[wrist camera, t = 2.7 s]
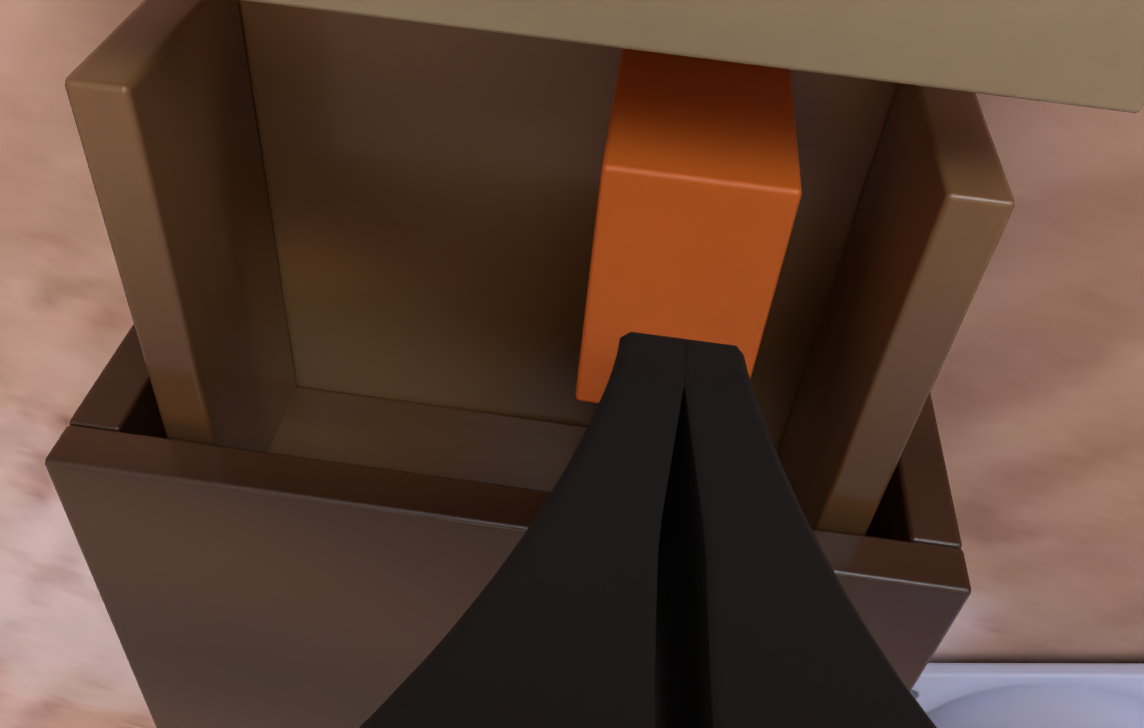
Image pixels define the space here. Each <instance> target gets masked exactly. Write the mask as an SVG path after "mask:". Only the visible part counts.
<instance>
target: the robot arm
mask: <svg viewBox="0 0 1144 728" xmlns="http://www.w3.org/2000/svg"><path fill="white" fill-rule="evenodd" d="M359 728H1144V663H928V664H927V665H926V667H925V669H924V670H923V672H922V674H921V675H920V677H919V678H918V680H917V682H916V683H915V685H914V687H913V688H912V690H911V692H910V691H909V690H908V688H907V687H906V686H905V684H904V683H903V681H902V680H901V678H900V677H899V675H898V674H897V672H896V671H895V669H894V668H893V666H892V665H891V663H890V662H889V660H888V659H887V657H886V656H885V654H884V653H883V651H882V650H881V648H880V647H879V645H878V644H877V642H876V641H875V639H874V638H873V636H872V634H871V633H870V631H869V630H868V628H867V626H866V625H865V623H864V622H863V620H862V618H861V617H860V615H859V613H858V612H857V610H856V609H855V607H854V605H853V604H852V602H851V600H850V599H849V597H848V595H847V593H846V592H845V590H844V588H843V587H842V585H841V583H840V581H839V579H838V578H837V576H836V574H835V572H834V570H833V569H832V567H831V565H830V563H829V561H828V559H827V557H826V556H825V554H824V552H823V550H822V548H821V546H820V544H819V542H818V540H817V538H816V536H815V535H814V533H813V531H812V529H811V527H810V525H809V523H808V521H807V519H806V516H805V514H804V512H803V510H802V508H801V506H800V504H799V502H798V500H797V497H796V495H795V493H794V491H793V489H792V486H791V484H790V482H789V480H788V477H787V475H786V473H785V471H784V468H783V466H782V464H781V462H780V459H779V457H778V455H777V452H776V450H775V447H774V445H773V442H772V440H771V437H770V435H769V432H768V429H767V427H766V424H765V421H764V419H763V416H762V413H761V411H760V408H759V405H758V402H757V399H756V396H755V393H754V390H753V387H752V384H751V380H750V377H749V373H748V370H747V366H746V362H745V358H744V355H743V353H742V352H741V351H740V350H739V348H738V347H737V346H734V345H727V344H719V343H712V342H704V341H697V340H689V339H682V338H674V337H667V336H659V335H652V334H644V333H637V332H629V333H628V334H626V335H624V336H622V337H621V338H620V340H619V346H618V352H617V356H616V359H615V362H614V366H613V369H612V372H611V375H610V378H609V380H608V383H607V385H606V388H605V391H604V393H603V395H602V397H601V400H600V402H599V404H598V406H597V409H596V411H595V413H594V415H593V417H592V419H591V421H590V423H589V425H588V427H587V429H586V431H585V433H584V435H583V437H582V439H581V441H580V443H579V445H578V446H577V448H576V450H575V452H574V454H573V456H572V458H571V460H570V462H569V463H568V465H567V467H566V469H565V470H564V472H563V474H562V475H561V477H560V478H559V480H558V482H557V483H556V485H555V487H554V488H553V490H552V491H551V493H550V495H549V496H548V498H547V500H546V501H545V503H544V504H543V506H542V508H541V509H540V511H539V513H538V514H537V516H536V517H535V519H534V520H533V522H532V523H531V525H530V526H529V528H528V529H527V531H526V532H525V534H524V535H523V537H522V538H521V540H520V541H519V542H518V544H517V545H516V547H515V548H514V549H513V551H512V552H511V554H510V555H509V556H508V558H507V559H506V560H505V562H504V563H503V564H502V566H501V567H500V569H499V570H498V571H497V573H496V574H495V575H494V577H493V578H492V579H491V581H490V582H489V583H488V584H487V586H486V587H485V588H484V590H483V591H482V592H481V593H480V594H479V596H478V597H477V598H476V599H475V601H474V602H473V603H472V604H471V606H470V607H469V608H468V609H467V611H466V612H465V613H464V614H463V615H462V617H461V618H460V619H459V620H458V622H457V623H456V624H455V625H454V627H453V628H452V629H451V630H450V631H449V632H448V634H447V635H446V636H445V637H444V638H443V639H442V640H441V642H440V643H439V644H438V645H437V646H436V647H435V648H434V650H433V651H432V652H431V653H430V654H429V655H428V656H427V657H426V658H425V659H424V661H423V662H422V663H421V664H420V665H419V666H418V667H417V668H416V669H415V670H414V671H413V672H412V673H411V674H410V675H409V676H408V677H407V679H406V680H405V681H404V682H403V683H402V684H401V685H400V686H399V687H398V688H397V689H396V690H395V691H394V692H393V693H392V694H391V695H390V697H389V698H388V699H387V700H386V701H385V702H384V703H383V704H382V705H381V706H380V707H379V708H378V709H377V710H376V711H375V712H374V713H373V714H372V715H371V716H370V717H369V718H368V719H367V720H366V721H365V722H364V723H363V724H362V725H361V726H360V727H359Z"/></svg>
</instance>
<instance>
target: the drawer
mask: <svg viewBox="0 0 1144 728" xmlns="http://www.w3.org/2000/svg"><path fill="white" fill-rule="evenodd" d="M623 49H632V50H640V51H648V52H656V53H664V54H672V55H680V56H688V57H696V58H704V59H712V60H720V61H727V62H735V63H743V64H751V65H759V66H767V67H775V68H783V69H789V70H790V73H791V83H792V94H793V104H794V115H795V125H796V136H797V147H798V157H799V168H800V178H801V189H802V196H801V199H800V203H799V206H798V210H797V214H796V217H795V221H794V224H793V228H792V232H791V235H790V239H789V242H788V246H787V250H786V253H785V257H784V260H783V264H782V268H781V271H780V275H779V278H778V282H777V285H776V289H775V293H774V296H773V300H772V303H771V307H770V311H769V314H768V318H767V321H766V325H765V329H764V332H763V336H762V339H761V343H760V347H759V350H758V354H757V357H756V361H755V364H754V368H753V372H752V375H751V379H750V380H751V384H752V387H753V390H754V393H755V396H756V399H757V402H758V405H759V408H760V411H761V413H762V416H763V419H764V421H765V424H766V427H767V429H768V432H769V435H770V437H771V440H772V442H773V445H774V447H775V450H776V452H777V455H778V457H779V459H780V462H781V464H782V466H783V468H784V471H785V473H786V475H787V477H788V480H789V482H790V484H791V486H792V489H793V491H794V493H795V495H796V497H797V500H798V502H799V504H800V506H801V508H802V510H803V512H804V514H805V516H806V519H807V521H808V523H809V525H810V527H811V528H815V529H822V530H829V531H836V532H843V533H851V534H858V535H865V534H866V532H867V530H868V527H869V525H870V523H871V521H872V519H873V516H874V514H875V512H876V510H877V507H878V505H879V503H880V501H881V499H882V496H883V494H884V492H885V490H886V488H887V485H888V483H889V481H890V479H891V477H892V474H893V472H894V470H895V468H896V466H897V463H898V461H899V459H900V457H901V455H902V452H903V450H904V448H905V446H906V444H907V441H908V439H909V437H910V435H911V433H912V430H913V428H914V426H915V424H916V422H917V419H918V417H919V415H920V413H921V411H922V408H923V406H924V404H925V402H926V400H927V397H928V395H929V393H930V391H931V389H932V386H933V384H934V382H935V380H936V378H937V375H938V373H939V371H940V369H941V367H942V364H943V362H944V360H945V358H946V355H947V353H948V351H949V349H950V347H951V344H952V342H953V340H954V338H955V336H956V333H957V331H958V329H959V327H960V325H961V322H962V320H963V318H964V316H965V314H966V311H967V309H968V307H969V305H970V303H971V300H972V298H973V296H974V294H975V292H976V289H977V287H978V285H979V283H980V281H981V278H982V276H983V274H984V272H985V270H986V267H987V265H988V263H989V261H990V259H991V256H992V254H993V252H994V250H995V248H996V245H997V243H998V241H999V239H1000V237H1001V234H1002V232H1003V230H1004V228H1005V226H1006V223H1007V221H1008V219H1009V217H1010V215H1011V212H1012V210H1013V208H1014V206H1015V202H1014V198H1013V195H1012V193H1011V190H1010V187H1009V184H1008V182H1007V179H1006V176H1005V174H1004V171H1003V168H1002V165H1001V163H1000V160H999V157H998V154H997V152H996V149H995V146H994V144H993V141H992V138H991V135H990V133H989V130H988V127H987V124H986V122H985V119H984V116H983V114H982V111H981V108H980V105H979V103H978V100H977V97H976V94H975V93H981V94H989V95H997V96H1005V97H1013V98H1021V99H1029V100H1036V101H1044V102H1052V103H1060V104H1068V105H1076V106H1084V107H1092V108H1100V109H1108V110H1116V111H1124V112H1131V113H1136V112H1139V111H1140V110H1141V109H1142V107H1143V105H1144V0H145V1H144V2H143V3H142V4H141V5H140V6H139V7H138V8H137V9H135V10H134V11H133V12H132V13H131V14H130V15H129V16H128V17H127V18H126V19H125V20H124V21H123V22H122V23H121V24H120V25H119V26H118V27H117V28H116V29H115V30H114V31H113V32H112V33H111V34H110V35H109V36H108V37H107V38H106V39H105V40H104V41H103V42H102V43H101V44H100V45H99V46H98V47H97V48H96V49H95V50H94V51H93V52H92V53H91V54H90V55H89V56H88V57H87V58H86V59H85V60H84V61H83V62H82V63H81V64H80V65H79V66H78V67H77V68H76V69H75V70H74V71H73V72H72V73H71V74H70V75H69V76H68V77H67V78H66V81H65V87H66V91H67V94H68V97H69V101H70V104H71V108H72V111H73V115H74V118H75V122H76V125H77V129H78V132H79V135H80V139H81V142H82V146H83V149H84V153H85V156H86V160H87V163H88V166H89V170H90V173H91V177H92V180H93V184H94V187H95V191H96V194H97V198H98V201H99V204H100V208H101V211H102V215H103V218H104V222H105V225H106V229H107V232H108V235H109V239H110V242H111V246H112V249H113V253H114V256H115V260H116V263H117V267H118V270H119V273H120V277H121V280H122V284H123V287H124V291H125V294H126V298H127V301H128V305H129V308H130V311H131V315H132V318H133V322H134V325H135V329H136V332H137V336H138V339H139V342H140V346H141V349H142V353H143V356H144V360H145V363H146V367H147V370H148V374H149V377H150V380H151V384H152V387H153V391H154V394H155V398H156V401H157V405H158V408H159V411H160V415H161V418H162V422H163V425H164V429H165V432H166V436H167V438H168V439H175V440H182V441H189V442H197V443H204V444H211V445H218V446H225V447H233V448H240V449H247V450H254V451H261V452H269V453H276V454H283V455H290V456H297V457H304V458H312V459H319V460H326V461H333V462H340V463H348V464H355V465H362V466H369V467H376V468H383V469H391V470H398V471H405V472H412V473H419V474H427V475H434V476H441V477H448V478H455V479H463V480H470V481H477V482H484V483H491V484H498V485H506V486H513V487H520V488H527V489H534V490H542V491H549V492H551V491H552V490H553V488H554V487H555V485H556V483H557V482H558V480H559V478H560V477H561V475H562V474H563V472H564V470H565V469H566V467H567V465H568V463H569V462H570V460H571V458H572V456H573V454H574V452H575V450H576V448H577V446H578V445H579V443H580V441H581V439H582V437H583V435H584V433H585V431H586V429H587V427H588V425H589V423H590V421H591V419H592V417H593V415H594V413H595V411H596V409H597V406H598V404H599V403H592V402H585V401H579V400H577V398H576V395H575V393H576V384H577V376H578V367H579V358H580V349H581V341H582V332H583V323H584V314H585V306H586V297H587V288H588V279H589V271H590V262H591V253H592V244H593V236H594V227H595V218H596V210H597V201H598V192H599V183H600V175H601V167H602V161H603V155H604V149H605V143H606V137H607V131H608V126H609V120H610V114H611V108H612V102H613V96H614V91H615V85H616V79H617V73H618V67H619V61H620V56H621V52H622V50H623Z"/></svg>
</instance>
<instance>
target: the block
mask: <svg viewBox="0 0 1144 728" xmlns="http://www.w3.org/2000/svg"><path fill="white" fill-rule="evenodd" d="M801 196H802V189H801V178H800V168H799V157H798V147H797V136H796V125H795V115H794V104H793V94H792V83H791V73H790V70H789V69H783V68H775V67H767V66H759V65H751V64H743V63H735V62H727V61H720V60H712V59H704V58H696V57H688V56H680V55H672V54H664V53H656V52H648V51H640V50H632V49H623V50H622V52H621V56H620V61H619V67H618V73H617V79H616V85H615V91H614V96H613V102H612V108H611V114H610V120H609V126H608V131H607V137H606V143H605V149H604V155H603V161H602V167H601V175H600V183H599V192H598V201H597V210H596V218H595V227H594V236H593V244H592V253H591V262H590V271H589V279H588V288H587V297H586V306H585V314H584V323H583V332H582V341H581V349H580V358H579V367H578V376H577V384H576V393H575V395H576V398H577V400H579V401H585V402H592V403H599V402H600V400H601V397H602V395H603V393H604V391H605V388H606V385H607V383H608V380H609V378H610V375H611V372H612V369H613V366H614V362H615V359H616V356H617V352H618V346H619V340H620V338H621V337H622V336H624V335H626V334H628V333H629V332H637V333H644V334H652V335H659V336H667V337H674V338H682V339H689V340H697V341H704V342H712V343H719V344H727V345H734V346H737V347H738V348H739V350H740V351H741V352H742V353H743V355H744V358H745V362H746V366H747V370H748V373H749V377H750V379H751V375H752V372H753V368H754V364H755V361H756V357H757V354H758V350H759V347H760V343H761V339H762V336H763V332H764V329H765V325H766V321H767V318H768V314H769V311H770V307H771V303H772V300H773V296H774V293H775V289H776V285H777V282H778V278H779V275H780V271H781V268H782V264H783V260H784V257H785V253H786V250H787V246H788V242H789V239H790V235H791V232H792V228H793V224H794V221H795V217H796V214H797V210H798V206H799V203H800V199H801Z"/></svg>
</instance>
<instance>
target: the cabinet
mask: <svg viewBox="0 0 1144 728" xmlns="http://www.w3.org/2000/svg"><path fill="white" fill-rule="evenodd" d="M45 465H46V467H47V470H48V472H49V474H50V477H51V479H52V482H53V484H54V486H55V489H56V491H57V493H58V496H59V498H60V500H61V503H62V505H63V508H64V510H65V512H66V515H67V517H68V519H69V522H70V524H71V526H72V529H73V531H74V534H75V536H76V538H77V541H78V543H79V545H80V548H81V550H82V552H83V555H84V557H85V560H86V562H87V564H88V567H89V569H90V571H91V574H92V576H93V578H94V581H95V583H96V586H97V588H98V590H99V593H100V595H101V597H102V600H103V602H104V604H105V607H106V609H107V612H108V614H109V616H110V619H111V621H112V623H113V626H114V628H115V630H116V633H117V635H118V637H119V640H120V642H121V645H122V647H123V649H124V652H125V654H126V656H127V659H128V661H129V663H130V666H131V668H132V671H133V673H134V675H135V678H136V680H137V682H138V685H139V687H140V689H141V692H142V694H143V697H144V699H145V701H146V704H147V706H148V708H149V711H150V713H151V715H152V718H153V720H154V723H155V725H156V727H157V728H359V727H360V726H361V725H362V724H363V723H364V722H365V721H366V720H367V719H368V718H369V717H370V716H371V715H372V714H373V713H374V712H375V711H376V710H377V709H378V708H379V707H380V706H381V705H382V704H383V703H384V702H385V701H386V700H387V699H388V698H389V697H390V695H391V694H392V693H393V692H394V691H395V690H396V689H397V688H398V687H399V686H400V685H401V684H402V683H403V682H404V681H405V680H406V679H407V677H408V676H409V675H410V674H411V673H412V672H413V671H414V670H415V669H416V668H417V667H418V666H419V665H420V664H421V663H422V662H423V661H424V659H425V658H426V657H427V656H428V655H429V654H430V653H431V652H432V651H433V650H434V648H435V647H436V646H437V645H438V644H439V643H440V642H441V640H442V639H443V638H444V637H445V636H446V635H447V634H448V632H449V631H450V630H451V629H452V628H453V627H454V625H455V624H456V623H457V622H458V620H459V619H460V618H461V617H462V615H463V614H464V613H465V612H466V611H467V609H468V608H469V607H470V606H471V604H472V603H473V602H474V601H475V599H476V598H477V597H478V596H479V594H480V593H481V592H482V591H483V590H484V588H485V587H486V586H487V584H488V583H489V582H490V581H491V579H492V578H493V577H494V575H495V574H496V573H497V571H498V570H499V569H500V567H501V566H502V564H503V563H504V562H505V560H506V559H507V558H508V556H509V555H510V554H511V552H512V551H513V549H514V548H515V547H516V545H517V544H518V542H519V541H520V540H521V538H522V537H523V535H524V534H525V532H526V531H527V529H528V528H529V526H530V525H531V523H532V522H533V520H534V519H535V517H536V516H537V514H538V513H539V511H540V509H541V508H542V506H543V504H544V503H545V501H546V500H547V498H548V496H549V495H550V493H551V492H549V491H542V490H534V489H527V488H520V487H513V486H506V485H498V484H491V483H484V482H477V481H470V480H463V479H455V478H448V477H441V476H434V475H427V474H419V473H412V472H405V471H398V470H391V469H383V468H376V467H369V466H362V465H355V464H348V463H340V462H333V461H326V460H319V459H312V458H304V457H297V456H290V455H283V454H276V453H269V452H261V451H254V450H247V449H240V448H233V447H225V446H218V445H211V444H204V443H197V442H189V441H182V440H175V439H168V438H167V436H166V432H165V429H164V425H163V422H162V418H161V415H160V411H159V408H158V405H157V401H156V398H155V394H154V391H153V387H152V384H151V380H150V377H149V374H148V370H147V367H146V363H145V360H144V356H143V353H142V349H141V346H140V342H139V339H138V336H137V332H136V329H135V325H134V324H133V326H132V327H131V329H130V330H129V332H128V334H127V335H126V337H125V338H124V340H123V341H122V343H121V344H120V346H119V347H118V349H117V350H116V352H115V353H114V355H113V356H112V358H111V359H110V361H109V362H108V364H107V365H106V367H105V368H104V370H103V371H102V373H101V374H100V376H99V377H98V379H97V381H96V382H95V384H94V385H93V387H92V388H91V390H90V391H89V393H88V394H87V396H86V397H85V399H84V400H83V402H82V403H81V405H80V406H79V408H78V409H77V411H76V412H75V414H74V415H73V417H72V418H71V420H70V426H68V427H66V429H65V430H64V432H63V433H62V435H61V437H60V438H59V440H58V441H57V443H56V444H55V446H54V447H53V449H52V450H51V452H50V453H49V455H48V456H47V458H46V461H45ZM811 529H812V531H813V533H814V535H815V536H816V538H817V540H818V542H819V544H820V546H821V548H822V550H823V552H824V554H825V556H826V557H827V559H828V561H829V563H830V565H831V567H832V569H833V570H834V572H835V574H836V576H837V578H838V579H839V581H840V583H841V585H842V587H843V588H844V590H845V592H846V593H847V595H848V597H849V599H850V600H851V602H852V604H853V605H854V607H855V609H856V610H857V612H858V613H859V615H860V617H861V618H862V620H863V622H864V623H865V625H866V626H867V628H868V630H869V631H870V633H871V634H872V636H873V638H874V639H875V641H876V642H877V644H878V645H879V647H880V648H881V650H882V651H883V653H884V654H885V656H886V657H887V659H888V660H889V662H890V663H891V665H892V666H893V668H894V669H895V671H896V672H897V674H898V675H899V677H900V678H901V680H902V681H903V683H904V684H905V686H906V687H907V688H908V690H909V691H910V692H911V690H912V688H913V687H914V685H915V683H916V682H917V680H918V678H919V677H920V675H921V674H922V672H923V670H924V669H925V667H926V665H927V664H928V662H929V660H930V659H931V657H932V656H933V654H934V652H935V651H936V649H937V647H938V646H939V644H940V642H941V641H942V639H943V638H944V636H945V634H946V633H947V631H948V629H949V628H950V626H951V624H952V623H953V621H954V620H955V618H956V616H957V615H958V613H959V611H960V610H961V608H962V606H963V605H964V603H965V602H966V600H967V598H968V597H969V595H970V593H971V587H970V582H969V577H968V572H967V567H966V563H965V558H964V553H963V551H962V550H961V546H962V544H961V539H960V534H959V529H958V524H957V519H956V515H955V510H954V505H953V500H952V495H951V491H950V486H949V481H948V476H947V471H946V466H945V462H944V457H943V452H942V447H941V442H940V437H939V433H938V428H937V423H936V418H935V413H934V409H933V404H932V399H931V394H930V393H929V395H928V397H927V400H926V402H925V404H924V406H923V408H922V411H921V413H920V415H919V417H918V419H917V422H916V424H915V426H914V428H913V430H912V433H911V435H910V437H909V439H908V441H907V444H906V446H905V448H904V450H903V452H902V455H901V457H900V459H899V461H898V463H897V466H896V468H895V470H894V472H893V474H892V477H891V479H890V481H889V483H888V485H887V488H886V490H885V492H884V494H883V496H882V499H881V501H880V503H879V505H878V507H877V510H876V512H875V514H874V516H873V519H872V521H871V523H870V525H869V527H868V530H867V532H866V534H865V535H858V534H851V533H843V532H836V531H829V530H822V529H815V528H811Z"/></svg>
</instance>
